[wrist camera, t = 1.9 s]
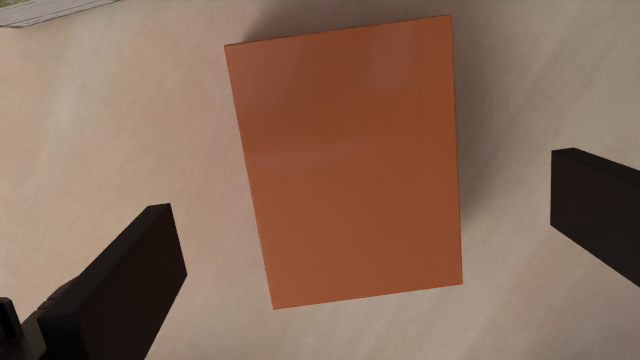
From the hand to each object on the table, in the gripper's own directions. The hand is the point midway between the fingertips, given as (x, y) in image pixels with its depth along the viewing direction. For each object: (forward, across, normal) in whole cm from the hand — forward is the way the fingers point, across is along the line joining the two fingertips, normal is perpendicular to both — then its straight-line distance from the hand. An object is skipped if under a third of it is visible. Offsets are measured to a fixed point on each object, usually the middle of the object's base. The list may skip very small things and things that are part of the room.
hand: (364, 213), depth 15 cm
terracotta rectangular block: (+8, 0, 0) cm, 8 cm away
